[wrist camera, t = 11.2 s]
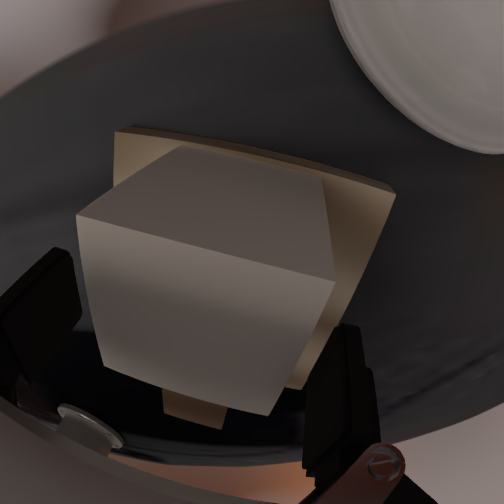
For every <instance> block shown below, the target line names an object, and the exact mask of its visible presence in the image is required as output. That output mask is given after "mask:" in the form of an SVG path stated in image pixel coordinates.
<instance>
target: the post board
mask: <svg viewBox="0 0 504 504" xmlns="http://www.w3.org/2000/svg"><path fill="white" fill-rule="evenodd" d="M180 145H184V146H189V147H195V148H200V149H205V150H210V151H215V152H220V153H225V154H230V155H234V156H239V157H243V158H248V159H252V160H257V161H261V162H265V163H269V164H273V165H277V166H281V167H285V168H289V169H293V170H297V171H301V172H304V173H308V174H312V175H315V176H319V177H321V179H322V185H323V191H324V197H325V203H326V210H327V216H328V223H329V230H330V238H331V245H332V253H333V261H334V270H335V279H336V283H335V285H334V287H333V289H332V292H331V294H330V296H329V298H328V301H327V303H326V305H325V307H324V309H323V311H322V313H321V316H320V318H319V320H318V322H317V324H316V326H315V328H314V330H313V332H312V334H311V336H310V338H309V340H308V342H307V344H306V346H305V348H304V350H303V352H302V354H301V356H300V358H299V360H298V362H297V364H296V366H295V368H294V370H293V372H292V374H291V376H290V377H289V379H288V381H287V383H286V385H285V387H288V388H293V389H299V390H301V389H302V388H303V386H304V384H305V383H306V381H307V379H308V376H309V373H310V372H311V370H312V368H313V366H314V364H315V363H316V361H317V359H318V357H319V355H320V353H321V352H322V350H323V348H324V346H325V344H326V342H327V340H328V338H329V336H330V334H331V333H332V331H333V329H334V327H335V326H336V327H337V325H338V323H339V321H340V320H341V318H342V316H343V314H344V312H345V310H346V308H347V306H348V304H349V302H350V300H351V298H352V296H353V294H354V292H355V289H356V287H357V285H358V283H359V281H360V279H361V277H362V275H363V273H364V270H365V268H366V266H367V264H368V262H369V259H370V257H371V255H372V253H373V250H374V248H375V246H376V243H377V241H378V239H379V236H380V234H381V232H382V229H383V227H384V224H385V222H386V219H387V217H388V215H389V212H390V209H391V207H392V204H393V202H394V199H395V197H396V193H395V192H394V191H393V189H392V188H391V187H390V185H389V184H387V183H384V182H381V181H378V180H375V179H371V178H368V177H365V176H362V175H359V174H356V173H352V172H349V171H346V170H342V169H339V168H335V167H332V166H328V165H325V164H321V163H317V162H314V161H310V160H306V159H302V158H298V157H295V156H291V155H286V154H282V153H278V152H274V151H270V150H265V149H261V148H256V147H252V146H247V145H242V144H237V143H232V142H227V141H222V140H217V139H211V138H206V137H200V136H194V135H188V134H182V133H175V132H169V131H162V130H154V129H147V128H138V127H130V126H129V127H127V128H124V129H121V130H118V131H116V132H115V141H114V187H115V186H116V185H118V184H119V183H121V182H122V181H124V180H125V179H127V178H128V177H130V176H131V175H133V174H134V173H136V172H138V171H139V170H141V169H142V168H144V167H145V166H147V165H149V164H150V163H152V162H153V161H155V160H157V159H158V158H160V157H162V156H163V155H165V154H167V153H168V152H170V151H172V150H173V149H175V148H177V147H178V146H180ZM162 394H163V405H164V413H166V414H169V415H172V416H175V417H178V418H182V419H185V420H188V421H192V422H195V423H199V424H202V425H206V426H210V427H213V428H217V429H221V428H222V425H223V422H224V418H225V415H226V411H227V408H228V407H226V406H222V405H218V404H214V403H211V402H207V401H204V400H200V399H197V398H193V397H190V396H186V395H183V394H180V393H177V392H174V391H171V390H167V389H164V388H162Z"/></svg>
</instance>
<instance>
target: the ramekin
mask: <svg viewBox="0 0 504 504" xmlns="http://www.w3.org/2000/svg"><path fill="white" fill-rule="evenodd" d="M330 5H331V8H332V12H333V15H334V18H335V21H336V23H337V26H338V29H339V31H340V33H341V35H342V37H343V39H344V41H345V43H346V45H347V47H348V49H349V50H350V52H351V54H352V56H353V57H354V59H355V60H356V62H357V63H358V65H359V66H360V68H361V69H362V71H363V72H364V74H365V75H366V76H367V77H368V79H369V80H370V81H371V82H372V83H373V85H374V86H375V87H376V88H377V89H378V91H379V92H380V93H381V94H382V95H383V96H384V97H385V98H386V99H387V100H388V101H389V102H390V103H391V104H392V105H393V106H394V107H395V108H396V109H398V110H399V111H400V112H401V113H402V114H403V115H405V116H406V117H407V118H408V119H409V120H411V121H412V122H414V123H415V124H416V125H418V126H419V127H421V128H422V129H424V130H425V131H427V132H429V133H431V134H433V135H434V136H436V137H438V138H440V139H442V140H445V141H447V142H449V143H451V144H453V145H456V146H458V147H461V148H464V149H467V150H471V151H475V152H479V153H485V154H504V0H330Z"/></svg>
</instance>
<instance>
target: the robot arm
mask: <svg viewBox="0 0 504 504" xmlns="http://www.w3.org/2000/svg"><path fill="white" fill-rule="evenodd" d="M81 316H82V307H81V302H80V297H79V293H78V287H77V282H76V277H75V271H74V265H73V259H72V257H71V256H70V253H69V252H68V251H67V250H64V249H61V248H58V247H54V248H52V249H51V250H50V251H49V252H48V253H46V254H45V255H44V256H43V257H42V258H41V259H40V260H39V261H37V262H36V263H35V264H34V265H33V266H32V267H31V268H30V269H29V270H28V271H27V272H25V273H24V274H23V275H22V276H21V277H20V278H19V279H18V280H17V281H16V282H15V283H14V284H13V285H12V286H11V287H10V288H9V289H8V290H7V291H6V292H5V293H4V294H3V295H2V296H1V297H0V504H277V503H270V502H263V501H257V500H250V499H245V498H239V497H235V496H230V495H225V494H221V493H216V492H212V491H207V490H203V489H199V488H195V487H192V486H188V485H184V484H181V483H177V482H174V481H171V480H168V479H165V478H161V477H158V476H155V475H152V474H150V473H147V472H144V471H141V470H138V469H136V468H133V467H131V466H128V465H125V464H123V463H120V462H118V461H116V460H113V459H111V458H109V457H108V455H109V452H110V450H111V448H112V447H113V448H121V447H122V446H123V444H124V440H123V438H122V437H121V435H120V434H119V433H117V432H116V431H115V430H114V429H113V428H111V427H110V426H109V425H107V424H106V423H104V422H103V421H101V420H100V419H98V418H97V417H95V416H93V415H91V414H90V413H88V412H86V411H84V410H82V409H80V408H78V407H75V406H73V405H70V404H66V403H62V404H60V406H59V407H58V412H59V414H60V415H61V417H62V418H63V419H62V421H61V423H60V425H59V426H58V428H57V430H56V431H54V430H52V429H51V428H49V427H47V426H45V425H44V424H42V423H40V422H39V421H37V420H35V419H34V418H32V417H31V416H29V415H28V414H26V413H24V412H23V411H21V410H20V409H18V406H17V397H16V386H15V381H16V379H17V378H19V380H20V381H22V382H23V383H25V384H27V385H28V386H30V384H31V383H32V381H35V380H37V378H38V377H39V376H40V374H41V373H42V371H43V370H44V368H45V367H46V365H47V364H48V362H49V361H50V359H51V358H52V357H53V355H54V354H55V352H56V351H57V350H58V348H59V347H60V345H61V344H62V343H63V341H64V340H65V338H66V337H67V336H68V334H69V333H70V332H71V330H72V329H73V328H74V326H75V325H76V324H77V322H78V321H79V320H80V318H81ZM302 468H303V469H307V471H306V477H315V487H316V488H315V489H314V490H313V491H312V492H311V493H310V494H309V495H308V496H307V497H305V498H304V499H303V500H302V501H301V502H300V503H299V504H438V503H437V502H436V501H435V500H434V499H433V498H431V497H430V496H429V495H428V494H427V493H425V492H424V491H423V490H422V489H421V488H420V487H419V486H418V485H417V484H415V483H414V482H413V481H412V480H411V479H410V478H409V477H408V476H406V475H405V474H404V472H405V459H404V457H403V455H402V453H401V452H400V450H399V449H398V448H396V447H395V446H393V445H392V444H389V443H384V442H383V443H381V436H380V426H379V417H378V408H377V400H376V392H375V384H374V377H373V373H372V370H371V369H370V368H368V367H366V365H365V358H364V351H363V345H362V338H361V332H360V328H359V327H358V326H354V325H349V324H344V323H342V324H341V325H340V327H336V326H335V327H334V329H333V331H332V333H331V334H330V336H329V338H328V340H327V342H326V344H325V346H324V348H323V350H322V352H321V353H320V355H319V357H318V359H317V361H316V363H315V364H314V366H313V368H312V370H311V372H310V373H309V376H308V379H307V387H306V409H305V427H304V443H303V457H302Z"/></svg>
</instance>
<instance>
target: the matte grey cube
mask: <svg viewBox="0 0 504 504" xmlns="http://www.w3.org/2000/svg"><path fill="white" fill-rule="evenodd" d="M76 220H77V230H78V239H79V247H80V255H81V261H82V268H83V274H84V280H85V286H86V291H87V297H88V302H89V307H90V311H91V316H92V320H93V325H94V329H95V333H96V337H97V341H98V345H99V349H100V353H101V356H102V360H103V363H104V366H106V367H108V368H111V369H113V370H116V371H118V372H121V373H123V374H126V375H128V376H131V377H134V378H136V379H139V380H142V381H144V382H147V383H150V384H153V385H156V386H159V387H161V388H164V389H167V390H171V391H174V392H177V393H180V394H183V395H186V396H190V397H193V398H197V399H200V400H204V401H207V402H211V403H214V404H218V405H222V406H226V407H230V408H234V409H238V410H242V411H247V412H251V413H256V414H261V415H266V416H268V415H269V414H270V412H271V410H272V408H273V407H274V405H275V403H276V401H277V399H278V398H279V396H280V394H281V392H282V390H283V389H284V387H285V385H286V383H287V381H288V379H289V377H290V376H291V374H292V372H293V370H294V368H295V366H296V364H297V362H298V360H299V358H300V356H301V354H302V352H303V350H304V348H305V346H306V344H307V342H308V340H309V338H310V336H311V334H312V332H313V330H314V328H315V326H316V324H317V322H318V320H319V318H320V316H321V313H322V311H323V309H324V307H325V305H326V303H327V301H328V298H329V296H330V294H331V292H332V289H333V287H334V285H335V283H336V279H335V270H334V261H333V253H332V245H331V238H330V230H329V223H328V216H327V210H326V203H325V197H324V191H323V185H322V179H321V177H319V176H315V175H312V174H308V173H304V172H301V171H297V170H293V169H289V168H285V167H281V166H277V165H273V164H269V163H265V162H261V161H257V160H252V159H248V158H243V157H239V156H234V155H230V154H225V153H220V152H215V151H210V150H205V149H200V148H195V147H189V146H184V145H180V146H178V147H177V148H175V149H173V150H172V151H170V152H168V153H167V154H165V155H163V156H162V157H160V158H158V159H157V160H155V161H153V162H152V163H150V164H149V165H147V166H145V167H144V168H142V169H141V170H139V171H138V172H136V173H134V174H133V175H131V176H130V177H128V178H127V179H125V180H124V181H122V182H121V183H119V184H118V185H116V186H115V187H114V188H112V189H111V190H109V191H108V192H106V193H105V194H103V195H102V196H101V197H99V198H98V199H96V200H95V201H94V202H92V203H91V204H90V205H88V206H87V207H85V208H84V209H83V210H81V211H80V212H79V213H77V214H76Z"/></svg>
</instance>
